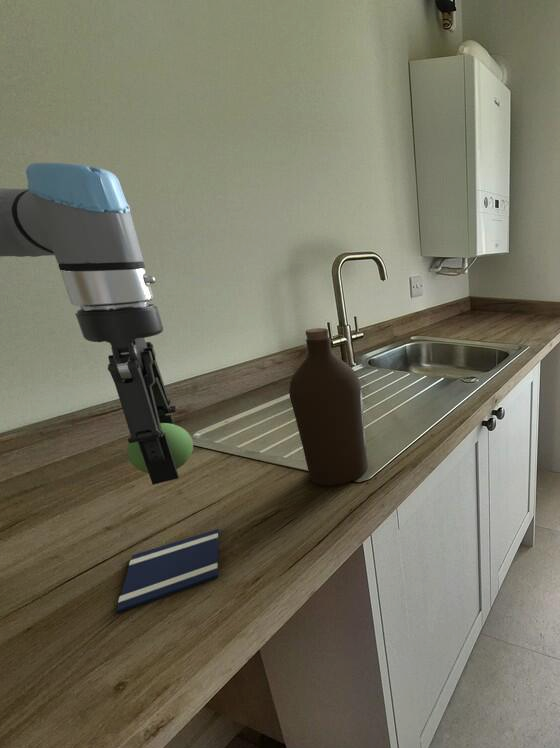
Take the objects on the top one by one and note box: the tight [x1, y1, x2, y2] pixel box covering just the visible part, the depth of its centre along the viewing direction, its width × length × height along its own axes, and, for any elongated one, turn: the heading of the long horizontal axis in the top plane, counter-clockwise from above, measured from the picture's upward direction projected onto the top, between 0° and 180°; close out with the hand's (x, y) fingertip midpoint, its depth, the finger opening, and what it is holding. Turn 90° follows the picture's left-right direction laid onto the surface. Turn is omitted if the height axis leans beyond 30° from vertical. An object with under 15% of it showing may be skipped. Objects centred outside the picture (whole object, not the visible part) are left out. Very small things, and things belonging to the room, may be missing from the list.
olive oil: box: [288, 327, 369, 487], centre depth 67 cm, size 11×11×25 cm
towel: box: [115, 528, 220, 614], centre depth 50 cm, size 10×9×1 cm
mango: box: [126, 423, 194, 474], centre depth 57 cm, size 7×7×7 cm
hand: (168, 468), depth 58 cm, fingers closed on mango, 7 cm apart
